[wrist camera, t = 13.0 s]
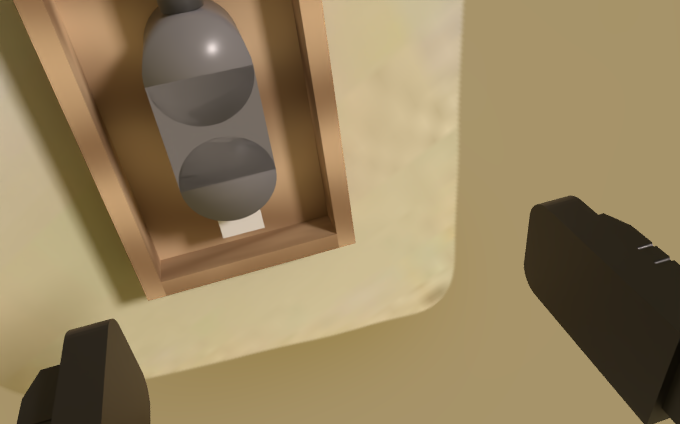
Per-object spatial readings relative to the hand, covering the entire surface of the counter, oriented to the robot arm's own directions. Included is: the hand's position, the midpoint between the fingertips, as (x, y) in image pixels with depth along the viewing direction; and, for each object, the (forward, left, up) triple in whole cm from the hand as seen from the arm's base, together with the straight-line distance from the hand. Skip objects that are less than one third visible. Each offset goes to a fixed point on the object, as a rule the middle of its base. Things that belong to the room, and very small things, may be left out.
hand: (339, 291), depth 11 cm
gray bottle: (+3, -2, -19) cm, 19 cm away
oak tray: (+3, -2, -20) cm, 20 cm away
